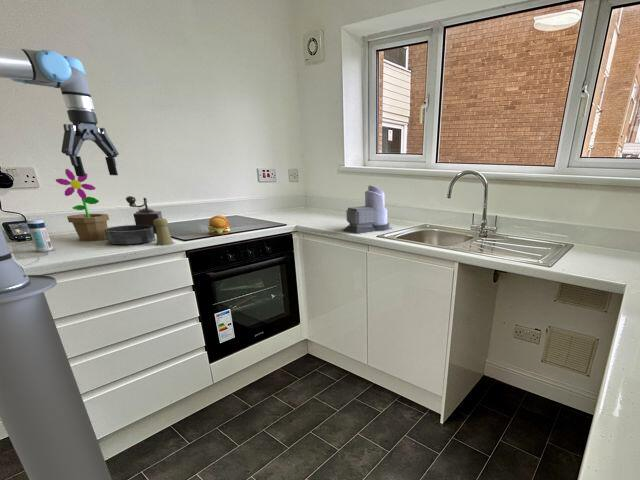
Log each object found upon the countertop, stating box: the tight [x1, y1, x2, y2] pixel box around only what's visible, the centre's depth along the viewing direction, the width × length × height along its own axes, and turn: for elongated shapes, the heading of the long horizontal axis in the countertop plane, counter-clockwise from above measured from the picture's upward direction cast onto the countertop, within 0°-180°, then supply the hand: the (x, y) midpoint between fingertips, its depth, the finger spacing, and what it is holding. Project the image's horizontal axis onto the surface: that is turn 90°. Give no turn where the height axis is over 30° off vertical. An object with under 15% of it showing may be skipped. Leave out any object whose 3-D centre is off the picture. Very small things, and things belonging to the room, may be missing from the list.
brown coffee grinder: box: [125, 195, 163, 234], centre depth 174 cm, size 16×11×18 cm
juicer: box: [342, 184, 392, 235], centre depth 200 cm, size 30×16×24 cm, turn 139°
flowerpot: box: [55, 168, 110, 242], centre depth 154 cm, size 14×14×30 cm
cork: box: [153, 217, 174, 246], centre depth 153 cm, size 6×6×11 cm
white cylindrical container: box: [26, 218, 54, 253], centre depth 135 cm, size 5×5×12 cm
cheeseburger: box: [207, 214, 231, 236], centre depth 178 cm, size 10×11×10 cm
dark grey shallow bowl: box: [104, 224, 156, 246], centre depth 155 cm, size 17×17×6 cm
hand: (98, 175), depth 128 cm, fingers open, 13 cm apart
